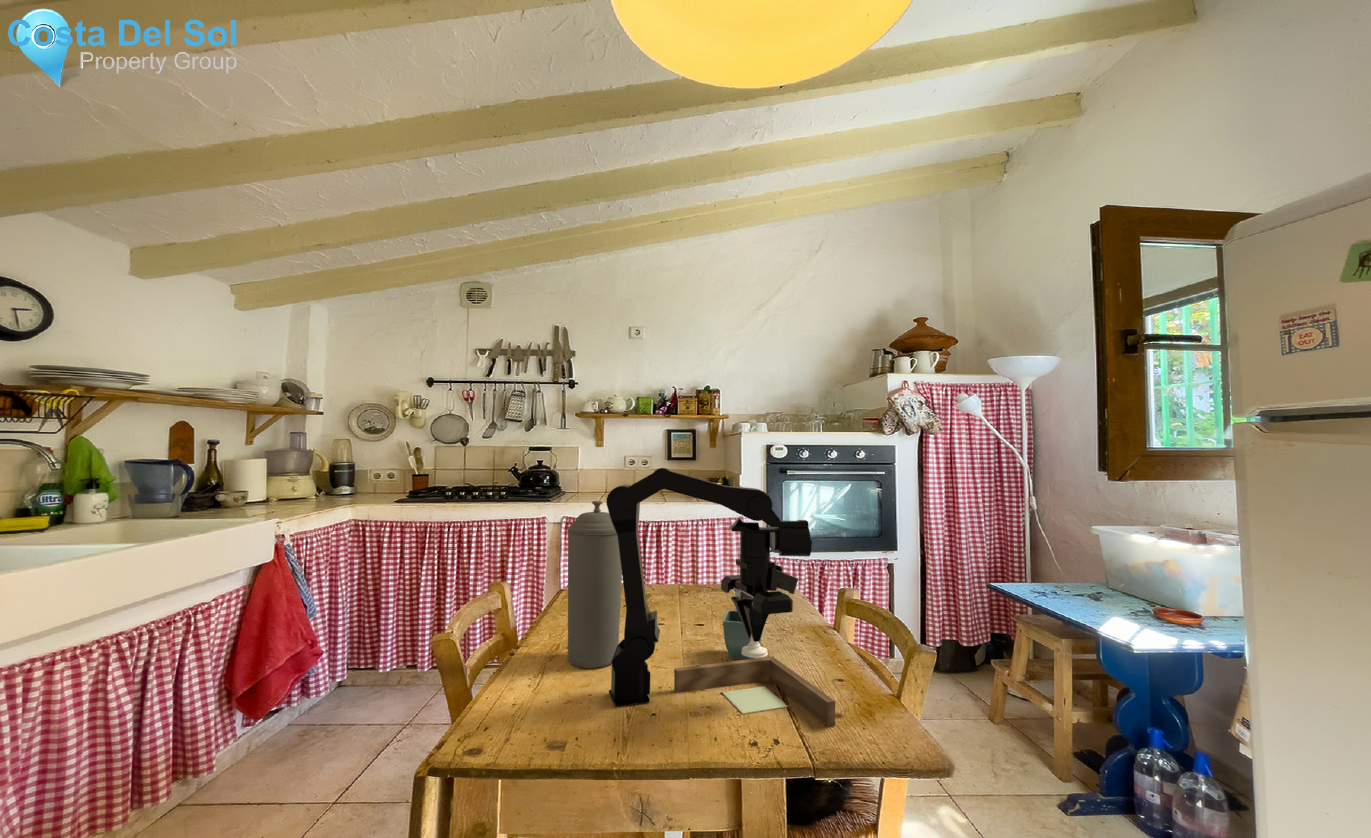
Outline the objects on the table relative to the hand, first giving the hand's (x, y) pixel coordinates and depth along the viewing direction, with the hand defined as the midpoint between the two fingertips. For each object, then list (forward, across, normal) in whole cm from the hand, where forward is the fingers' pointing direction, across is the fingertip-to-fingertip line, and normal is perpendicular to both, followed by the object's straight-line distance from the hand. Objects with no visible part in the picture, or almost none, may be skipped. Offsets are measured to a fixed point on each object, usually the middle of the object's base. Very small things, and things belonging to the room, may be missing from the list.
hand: (753, 639), depth 103 cm
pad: (+11, 0, 0) cm, 11 cm away
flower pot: (+11, +21, -8) cm, 25 cm away
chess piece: (+3, 0, 0) cm, 3 cm away
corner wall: (+11, -2, +2) cm, 11 cm away
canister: (+12, +29, +25) cm, 40 cm away
